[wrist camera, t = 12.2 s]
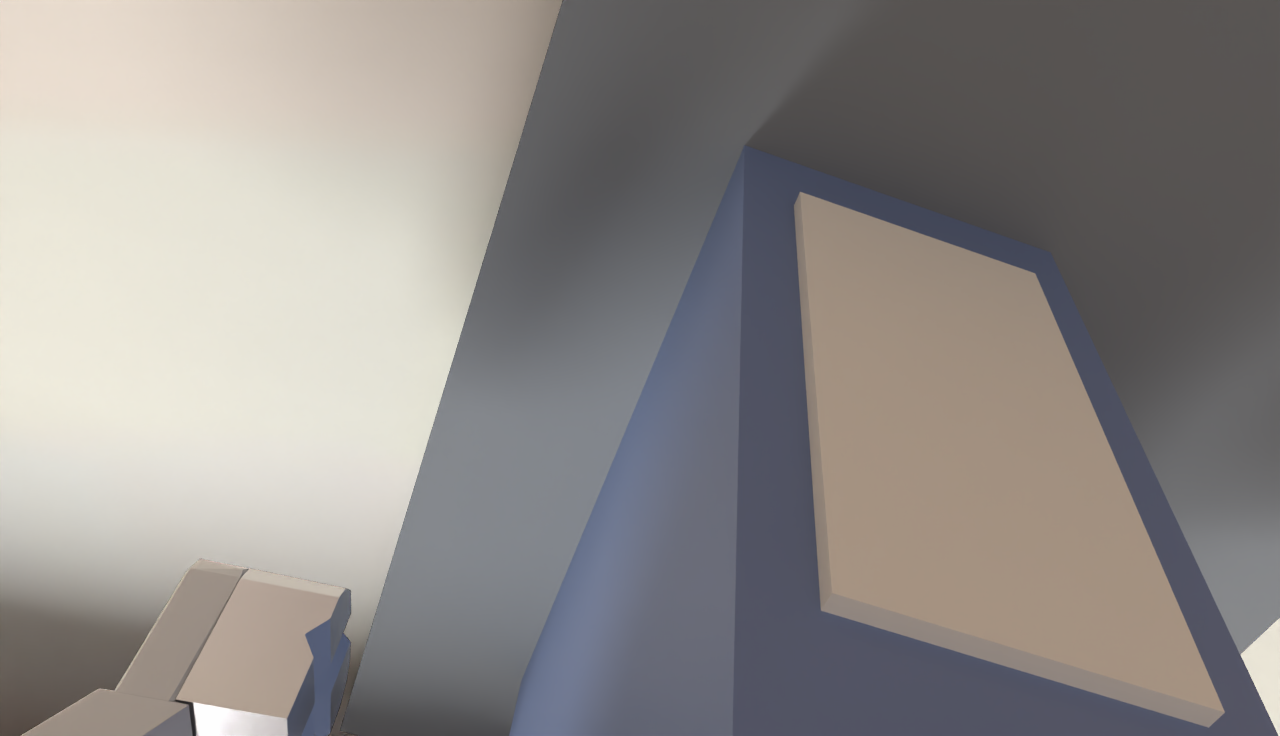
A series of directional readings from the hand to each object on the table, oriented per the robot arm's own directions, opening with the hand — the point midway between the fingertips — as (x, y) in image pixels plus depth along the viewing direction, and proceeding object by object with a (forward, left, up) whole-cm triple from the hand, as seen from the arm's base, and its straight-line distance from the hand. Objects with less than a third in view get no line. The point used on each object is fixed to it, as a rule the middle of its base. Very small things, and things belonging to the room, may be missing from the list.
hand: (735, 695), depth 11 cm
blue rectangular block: (0, 0, -3) cm, 3 cm away
